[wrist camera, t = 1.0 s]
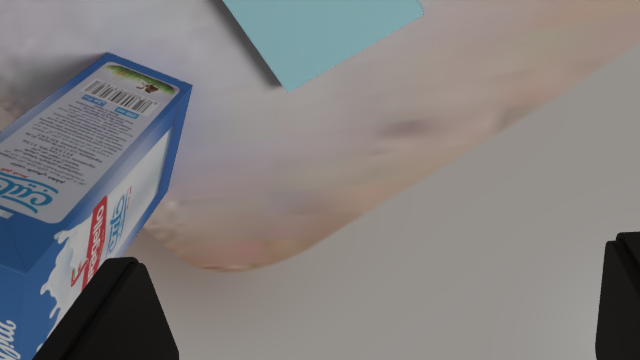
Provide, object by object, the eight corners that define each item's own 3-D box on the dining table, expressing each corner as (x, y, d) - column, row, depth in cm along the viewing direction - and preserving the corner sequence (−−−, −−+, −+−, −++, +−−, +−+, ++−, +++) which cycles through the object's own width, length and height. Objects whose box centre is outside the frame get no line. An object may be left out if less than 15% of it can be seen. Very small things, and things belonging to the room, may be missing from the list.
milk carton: (167, 191, 45) (16, 408, 29) (93, 163, 45) (-104, 366, 28) (193, 83, 40) (24, 273, 23) (108, 51, 40) (-124, 219, 23)
